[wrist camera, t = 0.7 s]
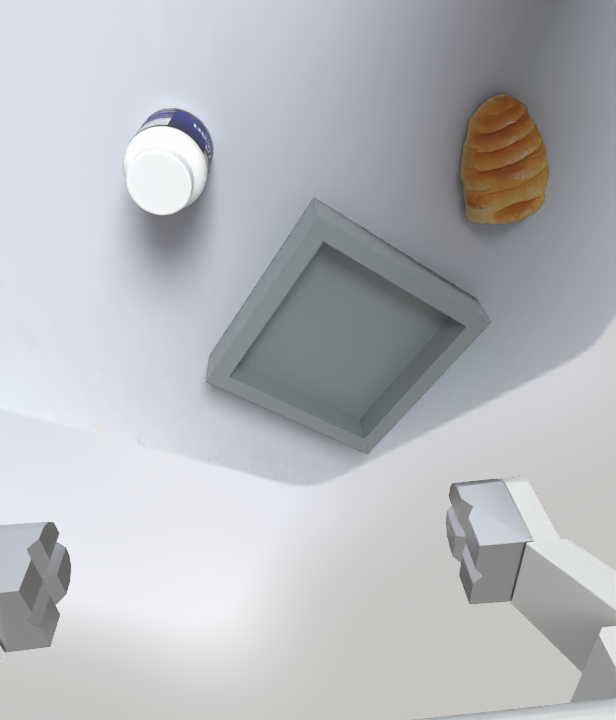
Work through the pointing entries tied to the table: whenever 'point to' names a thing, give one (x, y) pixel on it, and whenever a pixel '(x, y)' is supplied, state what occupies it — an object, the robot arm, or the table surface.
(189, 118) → the pill bottle
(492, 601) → the robot arm
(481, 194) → the pastry
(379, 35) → the table surface
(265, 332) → the tray
